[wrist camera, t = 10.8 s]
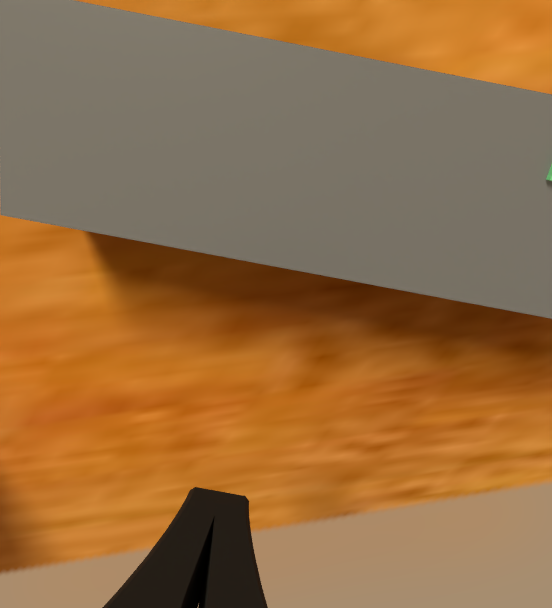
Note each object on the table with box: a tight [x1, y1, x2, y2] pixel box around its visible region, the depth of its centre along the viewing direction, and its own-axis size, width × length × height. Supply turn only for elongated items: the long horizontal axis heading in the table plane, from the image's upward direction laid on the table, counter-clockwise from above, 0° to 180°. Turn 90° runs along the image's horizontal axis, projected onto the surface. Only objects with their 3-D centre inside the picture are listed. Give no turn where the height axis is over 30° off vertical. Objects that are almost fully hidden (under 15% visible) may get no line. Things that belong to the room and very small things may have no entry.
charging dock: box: [0, 0, 552, 319], centre depth 15 cm, size 20×6×5 cm, turn 80°
